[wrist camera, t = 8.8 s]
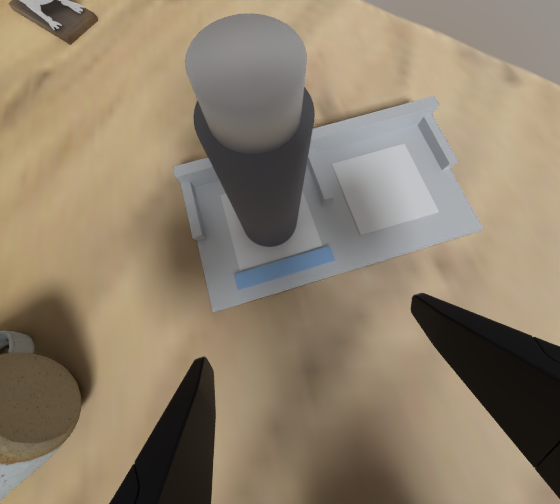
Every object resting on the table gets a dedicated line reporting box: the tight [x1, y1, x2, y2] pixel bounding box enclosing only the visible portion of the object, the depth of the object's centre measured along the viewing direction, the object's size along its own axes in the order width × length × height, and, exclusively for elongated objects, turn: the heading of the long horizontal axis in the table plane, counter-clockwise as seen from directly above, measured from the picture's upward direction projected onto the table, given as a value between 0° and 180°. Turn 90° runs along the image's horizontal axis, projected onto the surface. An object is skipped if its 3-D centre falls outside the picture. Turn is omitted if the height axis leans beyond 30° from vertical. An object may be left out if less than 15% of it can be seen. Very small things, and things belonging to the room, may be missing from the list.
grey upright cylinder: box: [185, 14, 315, 247], centre depth 13 cm, size 5×5×13 cm
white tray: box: [173, 96, 484, 312], centre depth 19 cm, size 23×12×2 cm, turn 107°
